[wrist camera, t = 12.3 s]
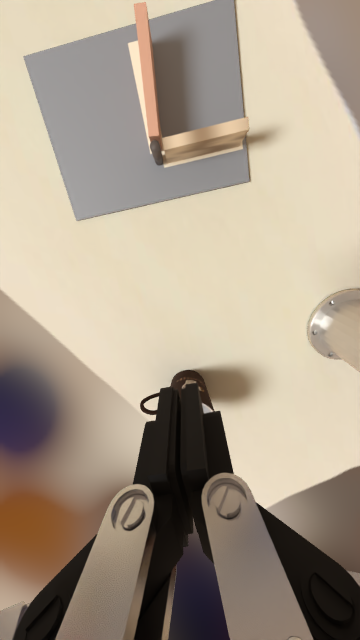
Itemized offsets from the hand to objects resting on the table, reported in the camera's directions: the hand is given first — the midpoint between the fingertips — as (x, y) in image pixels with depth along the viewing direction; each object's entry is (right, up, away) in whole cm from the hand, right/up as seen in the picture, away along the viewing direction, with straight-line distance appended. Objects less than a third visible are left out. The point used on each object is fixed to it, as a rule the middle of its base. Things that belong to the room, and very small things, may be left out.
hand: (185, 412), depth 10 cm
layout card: (-5, +30, +20) cm, 37 cm away
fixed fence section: (+3, +27, +21) cm, 35 cm away
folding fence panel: (-4, +32, +19) cm, 38 cm away
